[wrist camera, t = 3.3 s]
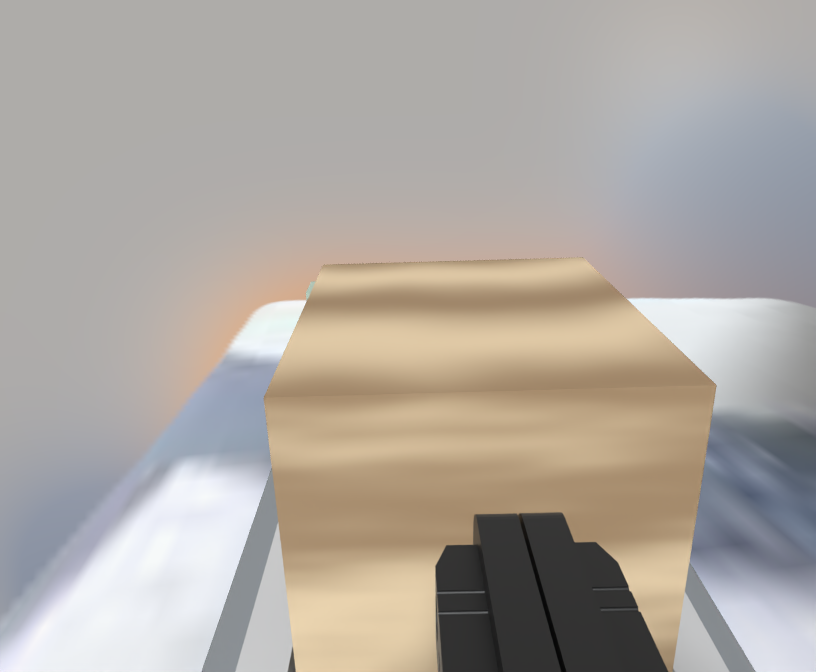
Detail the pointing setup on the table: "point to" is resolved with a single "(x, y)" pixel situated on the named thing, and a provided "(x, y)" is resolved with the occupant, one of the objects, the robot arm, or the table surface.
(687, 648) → the roller track
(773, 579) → the table surface
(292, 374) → the wood grain cube
